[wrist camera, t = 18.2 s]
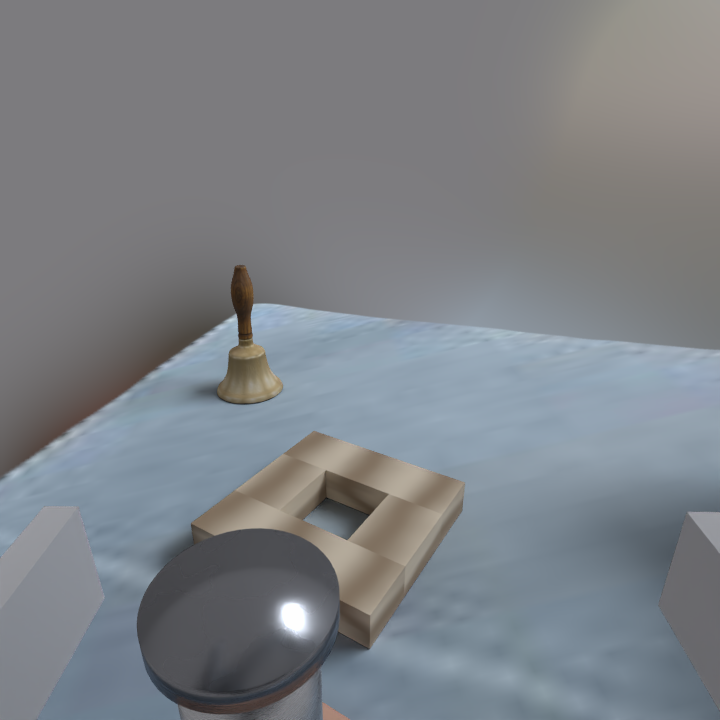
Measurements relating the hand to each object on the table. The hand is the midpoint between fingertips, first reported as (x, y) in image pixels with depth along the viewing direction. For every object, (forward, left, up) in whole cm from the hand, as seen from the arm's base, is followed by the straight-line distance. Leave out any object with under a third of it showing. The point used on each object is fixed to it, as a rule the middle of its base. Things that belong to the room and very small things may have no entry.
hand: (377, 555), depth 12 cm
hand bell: (+40, -37, -23) cm, 59 cm away
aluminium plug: (+6, -1, -21) cm, 22 cm away
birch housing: (+16, -21, -22) cm, 34 cm away
